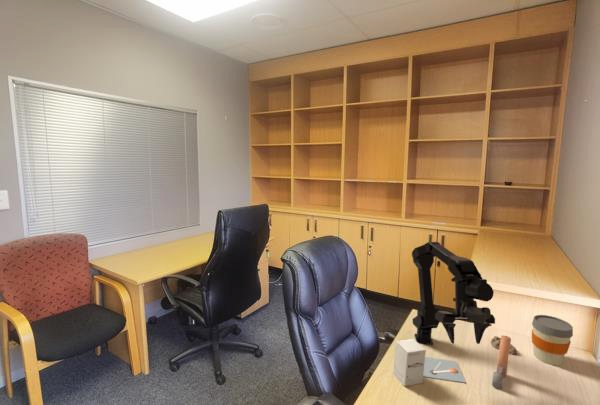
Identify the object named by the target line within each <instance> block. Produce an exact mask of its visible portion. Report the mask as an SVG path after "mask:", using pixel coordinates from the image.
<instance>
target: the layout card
mask: <svg viewBox="0 0 600 405" xmlns="http://www.w3.org/2000/svg"><path fill="white" fill-rule="evenodd" d="M423 378H428V379H433V380H434V379H435V380H442V381H449V382H455V383H460V384H461V383H462V384H466V383H467V382H466V380H465V378H464V375H463V373H462V370H461V369H460V366H459V364H458V362H457V360H452V359H451V360H450V359H442V358H434V357H429V356H425V362H424V373H423Z"/></svg>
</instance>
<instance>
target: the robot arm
mask: <svg viewBox="0 0 600 405" xmlns="http://www.w3.org/2000/svg"><path fill="white" fill-rule="evenodd" d="M411 257H412V262H413V264H414V265H415V266H416V268H417V272H418V276H417V277H418V284H419V285H418V287H419V297H420V298H419V299H420V300H419V301H420V304H419V306H418V307H417V310H416V312H417V313H416V314H417V315H416V316H414V317H413V318H412V324H413V326H414V327H415V328H416V333H414V338H415V341H416V342H418V343H419V344H424V345H430V346H431V345H432V346H433V345H434V342H433V340H432V332H433V329H437V328H438V326H439V324H440V323H441V324H442V326H443V327H444V328H443V329H445V331H446V334H447V336H448V339H449V341H450V343H451V344H452V345H453V344H455V327H456V325H457V324H456V323H455V321H469V322H470V323H471V324H473V330H474V339H475V342H476V344H477V345H480V344H481V341H482V338H483V336H484V333H485V331H486V330H487V328H488V327H492V324H494V325H495V324H496V318H495V317H494V315H493V314H492V313H491V309H490V308H489V307H487V306H486V307H485V306H483V307H478V302H477V300H479V301H482V302H489V301H491V300H492V299H493V297H494V289H493V287H492V286H491V284H489V283H488V281H487V279H485V278H483V277H482V274H481V273H480V272H479V270H478V269H477V267H476V265H475V262H474V261H473V260H471V259H469V258H466V257H464V256H459V255H456V253H454V252H452V251H450V250H449V249H447V248H446V247H445V246H444V245H441V243H440V242H439V241H427V242H426V243H424V244H422V245H420V246H416V247H414V249H413V250H412V251H411ZM434 258H437V259H439V260H440V261H441V262H442V263H444V264H445V265H446V266H447V270H448V272H450V274H451V275H452V276H453V277H452V278H451V280H450V281H451V282H454V297H453V298H452V301H453V302H454V303H455V309H453V311H452V312H453V313H452V312H449V311H445V310H444V311H443V310H440V309H439V308H437V307H436V306H435V304H434V297H433V296H434V295H433V285H432V273H431V272H432V270H431V268H432V267H433V265H434V262H435V260H434Z"/></svg>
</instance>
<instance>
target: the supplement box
mask: <svg viewBox="0 0 600 405" xmlns="http://www.w3.org/2000/svg"><path fill="white" fill-rule="evenodd" d="M426 351H427V350H426V349H425V348H424V347H423V346H422V345H421V343H418V342H416V339H414V338H409V339H403V340H396V341H395V347H394V355H393V356H394V358H393V359H394V360H393V368H392V370H393V371H392V374H393V375H394V376H395V377H396V379H398V381H399V382H400V383H401V384H402V386H403V387H408V386H414V385H419V384H423V381H424V377H423V373H424V362H425V357H426Z"/></svg>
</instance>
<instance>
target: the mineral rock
mask: <svg viewBox="0 0 600 405" xmlns="http://www.w3.org/2000/svg"><path fill="white" fill-rule="evenodd" d="M500 340H501V337H499V336H496V335H494V337H492V338H491V340H490V343H491V346H492V347H493V348H495V349H497V350H498V351H499V348H500ZM517 352H518V350H517V348H516V347H515V346H514V345H513V344H512V343H510V351H509V355H515V356H516V355H517Z"/></svg>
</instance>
